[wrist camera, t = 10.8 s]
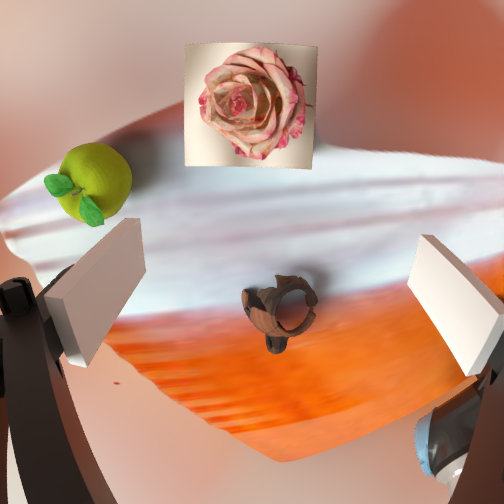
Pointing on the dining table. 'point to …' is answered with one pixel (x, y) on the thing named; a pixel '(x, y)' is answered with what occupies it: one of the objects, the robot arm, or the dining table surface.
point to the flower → (254, 102)
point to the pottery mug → (267, 318)
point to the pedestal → (216, 145)
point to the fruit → (91, 183)
